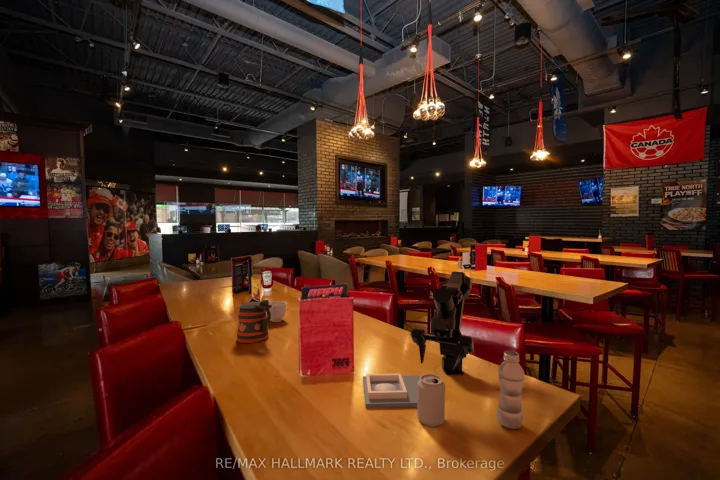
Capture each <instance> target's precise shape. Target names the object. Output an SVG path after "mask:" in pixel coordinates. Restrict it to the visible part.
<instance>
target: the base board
mask: <svg viewBox="0 0 720 480" xmlns="http://www.w3.org/2000/svg"><path fill="white" fill-rule="evenodd" d="M420 377H421V376H420V375H418V374H417V375H402V373H366V374H365V375H363V376H362V385H363V395H364V396H363V397H364V405H365V406H364V407H365V409H370V408H371V409H372V408H373V409H374V408H375V409H376V408H378V409H379V408H409V407H410V408H412V407H413V408H414V407H415V408H417V397H418V381H419V380H420Z"/></svg>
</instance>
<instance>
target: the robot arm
mask: <svg viewBox="0 0 720 480" xmlns="http://www.w3.org/2000/svg"><path fill="white" fill-rule="evenodd" d="M450 274H451V275H450V276H449V280H448V281H447V283H444V284H442V285H440V287H439V288H437V289H436V290H434V292H433V293H432V297H433V302H434V305H435V308H436V310H437V312H436V316H435V317H431V320H430V329H431V333H432V334H430V333H426V331H425V328H420V327H413V328H412V329H411V330H410V337H411V339H412V343H415V344H416V346H417V347H418V349H419V350H418V351H419V360H420V364H423V363H424V360H425V353H426V349H427V348H426V347H427V344H426V343H427V341H428V342H429V341H430V342H437V343H439V355H442V357H441V369H442V370H443V371H444V374H446V375H447V376H449V375H450V376H451V375H464V374H465V373H464V371H463V359H464V358H467V355H469V353H470V354H471V353H472V354H473V353H474V346H475V345H474V339H473V338H472V336H470V335H465V334H464V335H463V334H462V332H461V326H462V321H463V313H464V312H463V311H464V305H465V300H466V299H467V298H468V297H469V296H470V292H471V291H472V288H473V284H472V279H471V278H470V277H468V275H466V273H465V272H464V271H451V273H450Z"/></svg>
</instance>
